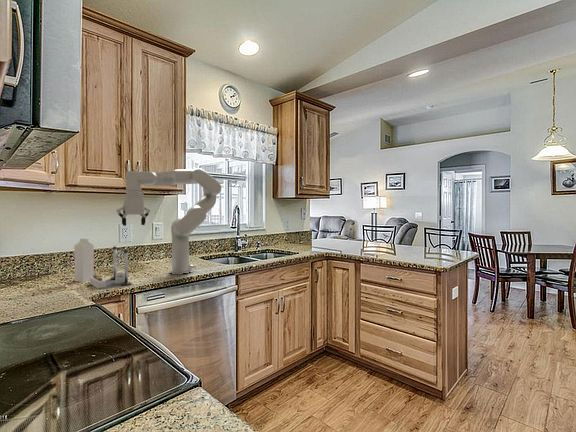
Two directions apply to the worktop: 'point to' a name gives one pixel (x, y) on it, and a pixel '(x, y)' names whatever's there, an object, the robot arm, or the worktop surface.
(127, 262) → the cord post
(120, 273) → the power adapter
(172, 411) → the worktop surface
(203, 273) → the worktop surface
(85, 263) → the milk
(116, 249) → the cord post
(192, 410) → the worktop surface
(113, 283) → the mat
